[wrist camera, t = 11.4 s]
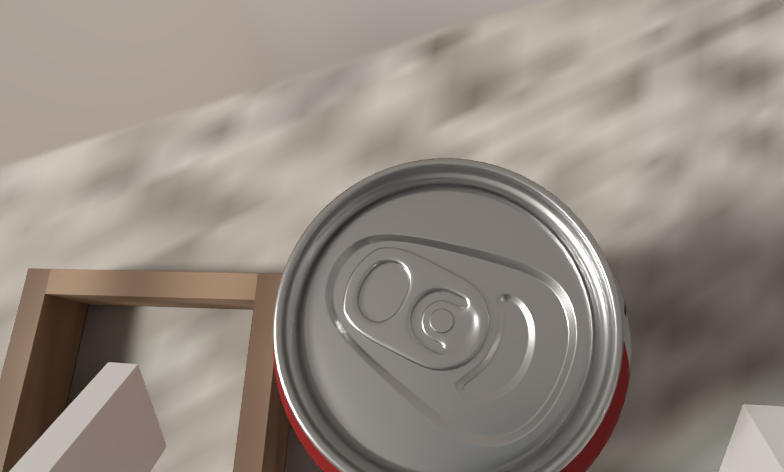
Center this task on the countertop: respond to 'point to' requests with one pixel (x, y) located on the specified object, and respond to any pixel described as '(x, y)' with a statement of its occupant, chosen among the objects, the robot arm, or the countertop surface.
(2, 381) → the frame
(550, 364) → the soda can
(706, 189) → the countertop surface
